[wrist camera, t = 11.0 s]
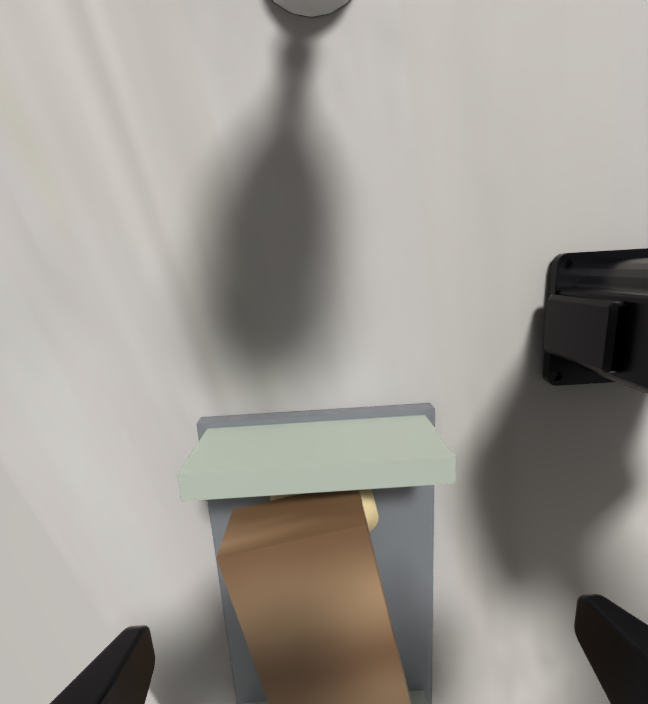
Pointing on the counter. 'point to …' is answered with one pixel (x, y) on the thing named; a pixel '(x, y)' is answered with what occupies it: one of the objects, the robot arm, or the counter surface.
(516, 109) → the counter surface
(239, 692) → the peg cradle
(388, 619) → the shelf board
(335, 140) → the counter surface
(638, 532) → the counter surface
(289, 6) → the chalice
